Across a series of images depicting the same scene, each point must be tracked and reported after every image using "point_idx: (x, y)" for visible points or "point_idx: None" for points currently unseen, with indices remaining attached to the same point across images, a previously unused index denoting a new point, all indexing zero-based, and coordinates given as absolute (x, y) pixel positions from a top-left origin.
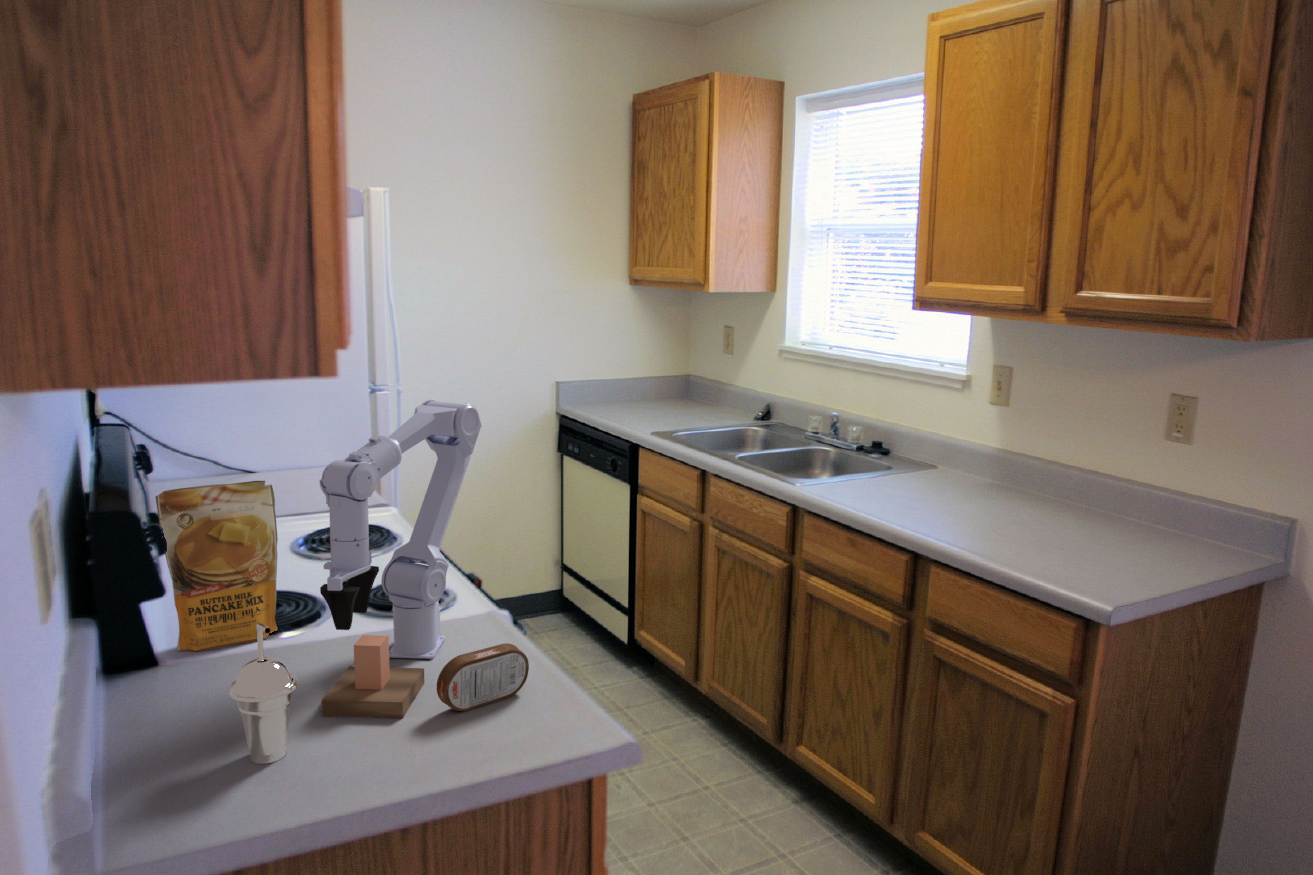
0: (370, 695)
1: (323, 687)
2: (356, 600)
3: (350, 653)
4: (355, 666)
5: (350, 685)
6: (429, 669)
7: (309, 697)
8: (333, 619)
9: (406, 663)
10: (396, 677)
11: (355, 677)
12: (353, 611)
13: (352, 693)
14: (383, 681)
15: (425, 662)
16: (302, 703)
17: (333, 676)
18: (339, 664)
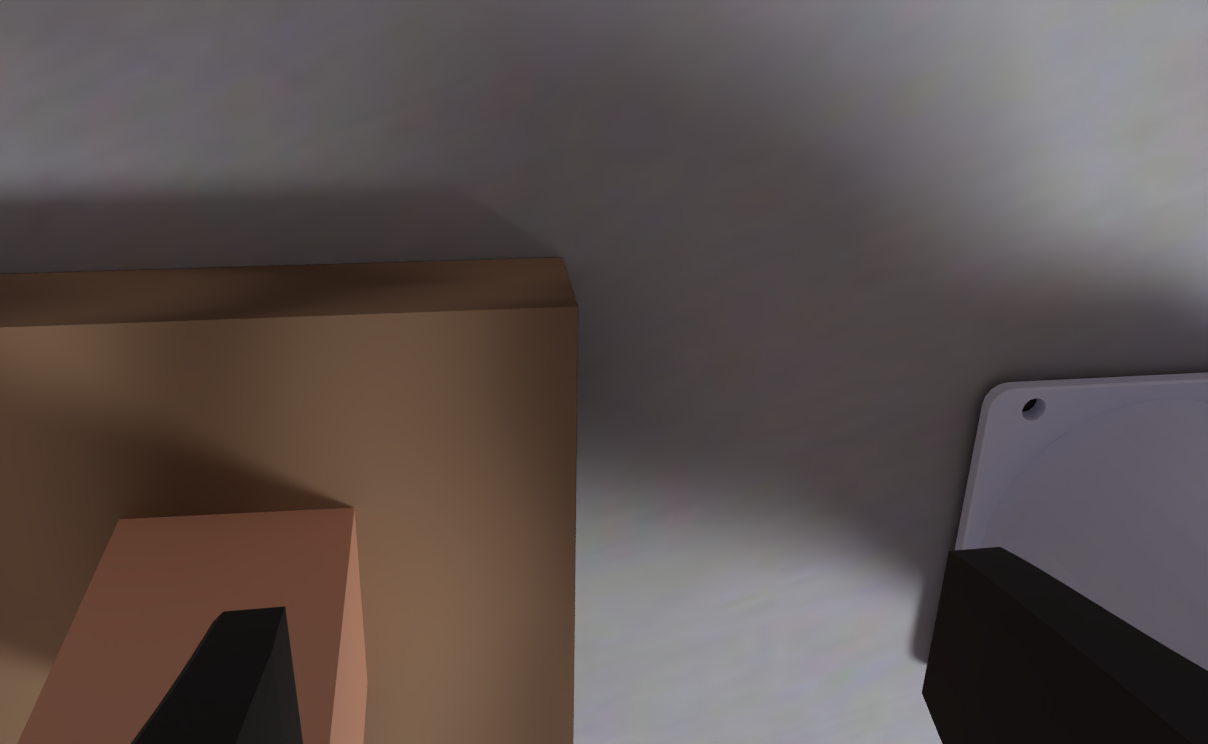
0: (24, 665)
1: (415, 77)
2: (1043, 723)
3: (1128, 55)
4: (58, 664)
5: (177, 457)
6: (774, 698)
7: (194, 27)
8: (153, 715)
9: (882, 538)
10: (390, 717)
11: (89, 587)
12: (954, 567)
13: (23, 529)
14: None
15: (890, 643)
16: (59, 10)
17: (647, 82)
18: (899, 42)
